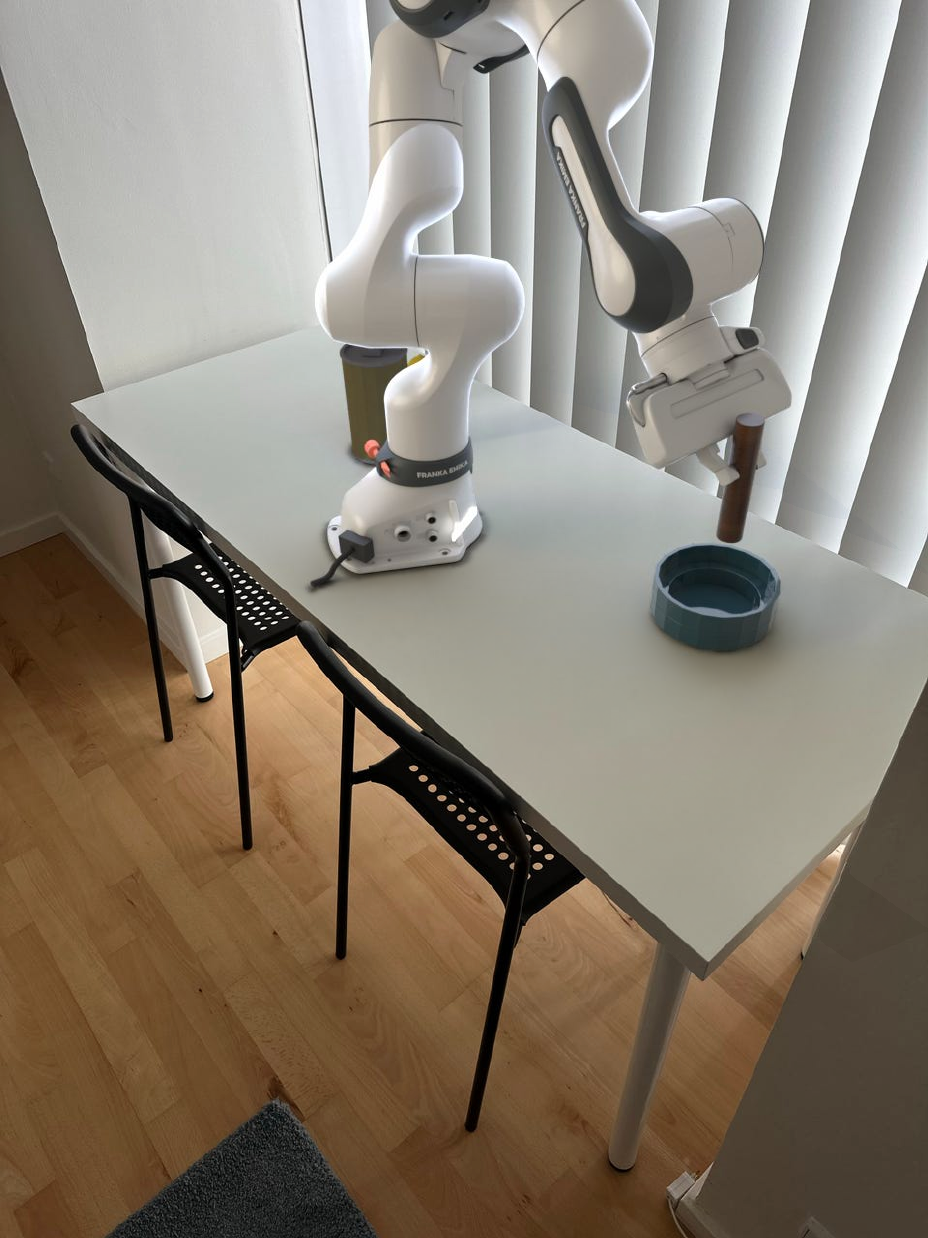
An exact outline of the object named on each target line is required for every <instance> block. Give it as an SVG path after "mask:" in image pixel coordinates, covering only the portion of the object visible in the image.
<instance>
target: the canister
mask: <svg viewBox="0 0 928 1238" xmlns="http://www.w3.org/2000/svg"><path fill="white" fill-rule="evenodd" d="M408 349H409V348H365V347H360V346H354V345H349V344H345V343H344V344H343V345H342V347H341V348H340V349H339V357H340V359H341V366H342V372H343V381H344V390H345V399H346V406H347V415H348V422H349V423H348V424H349V432H350V440H351V447H350V448H351V449H350V450H351V455H352V456H353V457H354V459H356V460H357V461H360V462H361V463H364V464H367V465H373V466H376V463H375V458H371V457H369V455H368V453H367V452H366V451H365V444H367V442H368V441H370V440H375V441H376V442H377V443H378V444H379V446H380V447H381V448H382V447H383V445H384V444H385V442H386V440H387V427H386V416H385V405H384V395H385V391H386V388H387V386H388V384H389V383H390V381H391V380H392V379H393V378H394V377H395V376H396V375H397V374H398V373H400V372H401V371H402V370H404V369H406V368H408V366H407V364H408V356H407V355H408Z"/></svg>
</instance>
